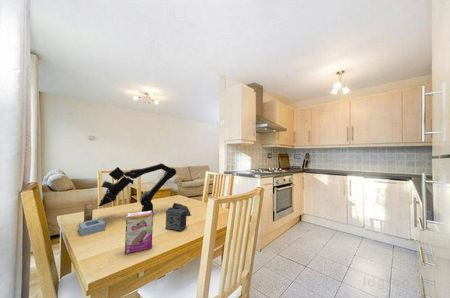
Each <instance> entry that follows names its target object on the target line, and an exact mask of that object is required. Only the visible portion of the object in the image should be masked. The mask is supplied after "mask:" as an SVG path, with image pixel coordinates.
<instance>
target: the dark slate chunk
mask: <svg viewBox="0 0 450 298" xmlns="http://www.w3.org/2000/svg"><path fill="white" fill-rule="evenodd" d="M170 209H180V210H187V211H186V217H190V216H192V214H191V211H190V209H189V208H188V206H186V205H183V204H182V203H177V202H174V203H173V204H172V207H168V208H167V211H168V210H170Z"/></svg>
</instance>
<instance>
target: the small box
mask: <svg viewBox="0 0 450 298" xmlns="http://www.w3.org/2000/svg"><path fill="white" fill-rule="evenodd" d="M186 211H187V210H180V209H170V210H168V209H167V210H166V211H165V230H168V231H174V232H178V233H179V232H180V233H182V231H184V230H185V229H186V228H187V216H186Z"/></svg>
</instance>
